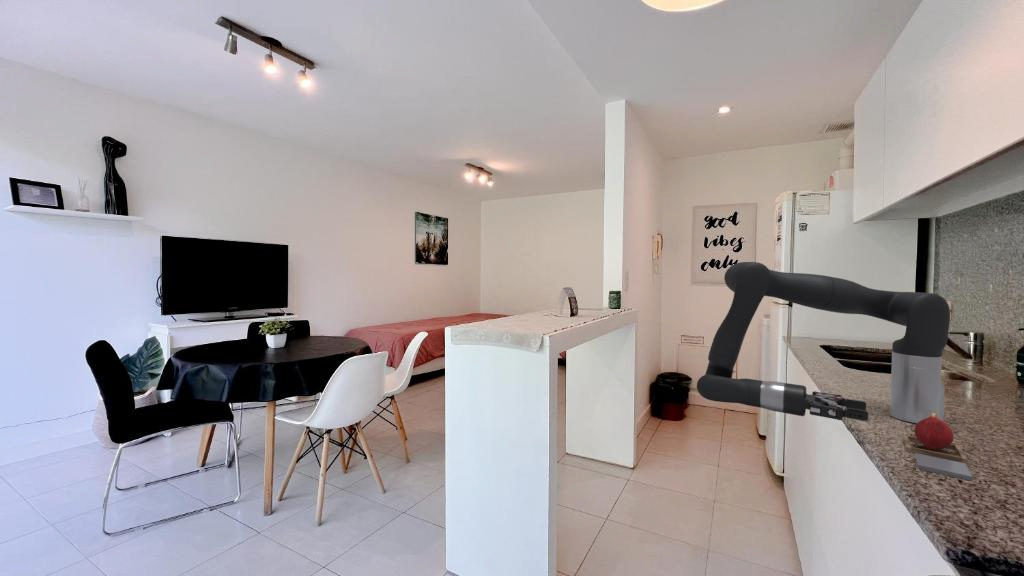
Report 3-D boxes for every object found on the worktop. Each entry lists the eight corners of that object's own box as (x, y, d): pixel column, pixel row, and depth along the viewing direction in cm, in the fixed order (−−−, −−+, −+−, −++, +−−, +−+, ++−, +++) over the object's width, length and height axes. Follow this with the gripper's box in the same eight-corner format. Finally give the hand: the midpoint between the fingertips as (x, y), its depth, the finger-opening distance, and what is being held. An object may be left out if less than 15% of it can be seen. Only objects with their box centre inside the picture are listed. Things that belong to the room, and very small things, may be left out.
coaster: (914, 456, 84) (915, 453, 84) (965, 467, 79) (965, 463, 79) (918, 469, 79) (918, 464, 79) (972, 481, 74) (972, 476, 74)
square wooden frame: (902, 439, 93) (902, 434, 93) (959, 449, 88) (959, 445, 87) (906, 451, 87) (906, 446, 87) (967, 464, 81) (967, 459, 81)
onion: (957, 459, 83) (959, 420, 83) (918, 452, 86) (920, 415, 86) (946, 449, 88) (948, 412, 88) (910, 443, 91) (911, 407, 91)
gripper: (780, 389, 98) (869, 402, 88) (785, 377, 109) (865, 388, 99) (779, 419, 98) (868, 436, 88) (785, 405, 109) (864, 418, 99)
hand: (866, 411), depth 94 cm, fingers open, 8 cm apart
